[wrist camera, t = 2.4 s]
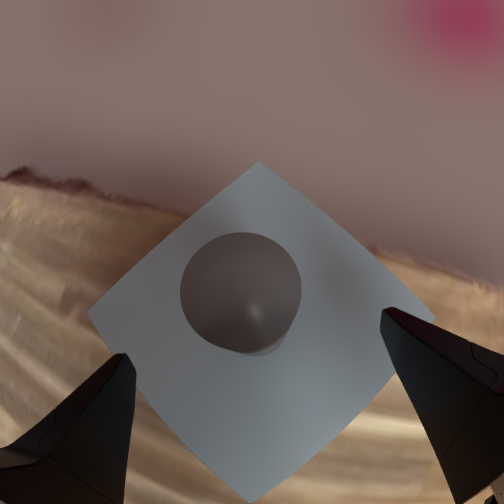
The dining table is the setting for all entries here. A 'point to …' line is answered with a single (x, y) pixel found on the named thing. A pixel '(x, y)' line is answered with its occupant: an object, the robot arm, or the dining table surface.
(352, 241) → the lid
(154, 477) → the dining table surface
